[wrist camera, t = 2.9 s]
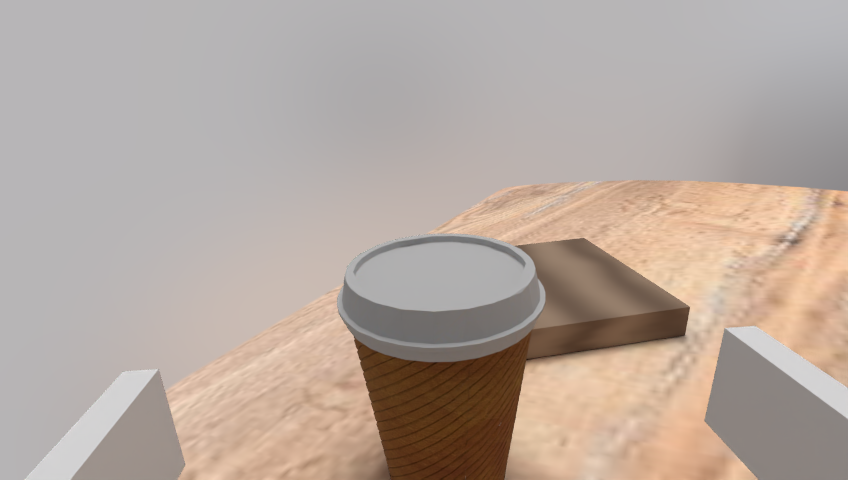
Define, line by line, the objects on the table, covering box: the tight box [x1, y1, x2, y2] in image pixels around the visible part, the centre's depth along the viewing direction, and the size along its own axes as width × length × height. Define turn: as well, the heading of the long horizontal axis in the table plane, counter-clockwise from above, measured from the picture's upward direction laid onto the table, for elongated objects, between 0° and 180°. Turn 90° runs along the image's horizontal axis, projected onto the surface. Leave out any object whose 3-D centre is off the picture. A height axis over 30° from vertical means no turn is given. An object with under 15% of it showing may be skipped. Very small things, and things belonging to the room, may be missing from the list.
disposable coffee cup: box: [337, 234, 545, 480], centre depth 23 cm, size 10×10×12 cm
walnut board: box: [515, 238, 690, 359], centre depth 41 cm, size 16×16×2 cm
